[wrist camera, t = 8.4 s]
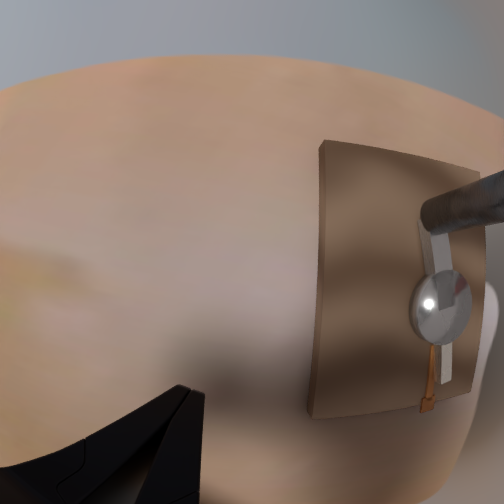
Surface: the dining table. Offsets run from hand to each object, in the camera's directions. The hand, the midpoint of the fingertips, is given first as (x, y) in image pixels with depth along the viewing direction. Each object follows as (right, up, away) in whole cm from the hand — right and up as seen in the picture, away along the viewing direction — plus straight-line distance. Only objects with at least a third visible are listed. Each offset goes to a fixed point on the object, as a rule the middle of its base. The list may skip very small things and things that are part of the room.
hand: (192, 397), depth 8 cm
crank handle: (+14, +2, +10) cm, 17 cm away
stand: (+13, +2, +12) cm, 17 cm away
